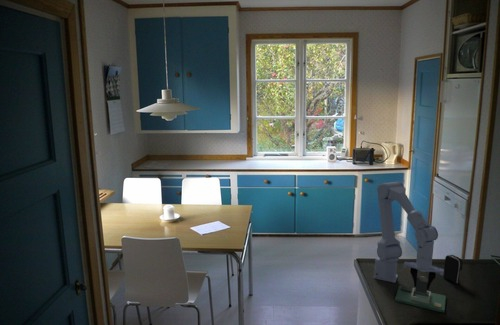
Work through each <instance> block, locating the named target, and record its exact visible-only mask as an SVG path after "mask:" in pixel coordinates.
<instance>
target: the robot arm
mask: <svg viewBox="0 0 500 325" xmlns="http://www.w3.org/2000/svg"><path fill="white" fill-rule="evenodd" d="M406 190H407V188H406V186H404V184H403V182H401V181H400V180H398V181H393V182H391V181H390V182H382V183H380V184H379V185H378V186H377V187H376V191H377V199H378V200H377V201H378V208H379V209H378V210H379V218H380V219H379V220H380V221H379V222H380V228H381V229H380V230H381V238H380V240H379V241H378V242H377V248H376V255H377V256H376V257H375V260H374V269H373V271H374V272H373V279H375V280H381V281H385V282H390V283H394V284H396V282H397V279H398V277H399V275H398V274H397V270H398V261H399V260H400V258H401V257H402V256H403V248H402V247H401V242H400V241H399V240H398V239H397V238H396V234H395V225H394V216H393V205H392V203H393V202H394V201H397V203H398V204H399V205H400V207H402V209H403V210H404V211H405V213H406V214H407V217H406V219H407V221H408V222H409V224H410V225H411V226H412V228H413V230H414V235H415V239H416V245H417V247H416V248H417V249H416V259H415V260H416V262H412V261H411V262H409V261H404V262H403V268H404V269H410V271H409V272H410V275H411V276H412V279H413V280H412V281H413V283H414V284H413V285H414V286H413V288H416V282H417V277H418V271H419V272H422V273H426V272H427V273H428V276H427V278H428V285H427V291H429V290H430V287H431V284H432V282H433V281H434V280H435V278H436V276H437V275H440V276H443V277H444V268H441V267H437V266H435V265H433V255H434V244H435V241H437V240H438V237H439V233H438V232H439V231H438V230H437V228H436V227H435V226H433V225H432V224H430V223H429V222H428V221H427V220H426V219H425V217H424V215H423V213H422V212H420V211H419V210H416V209H415V208H414V205H413V204H412V202H411V201H410V199H409V197H408V195H407V192H406Z"/></svg>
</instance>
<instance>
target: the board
mask: <svg viewBox="0 0 500 325" xmlns="http://www.w3.org/2000/svg"><path fill="white" fill-rule="evenodd" d="M446 297H447V296H446V295H444V294H439V293H434V292H432V291H429V290H427V293H426V294H424V293H420V292H416V287H410V286H409V287H408V286H405V285H399V286H398V289H397V291H396V296H395V298H394V300H395V302H398V303H402V304H405V305H410V306H411V305H412V306H414V307H418V308H424V309H427V310H432V311H435V312H439V313H443V314H444V313H445V310H446V309H445V308H446Z"/></svg>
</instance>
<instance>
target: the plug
mask: <svg viewBox="0 0 500 325" xmlns="http://www.w3.org/2000/svg"><path fill="white" fill-rule="evenodd" d="M427 285H428V277H426V276H422V275H417V282H416V287H415V288H416V292H420V293H424V294H426V293H427V291H428V290H427Z"/></svg>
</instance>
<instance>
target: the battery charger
mask: <svg viewBox="0 0 500 325" xmlns="http://www.w3.org/2000/svg"><path fill="white" fill-rule="evenodd" d="M463 265H464V264H463V259H462V258H460V257H458V256H456V255H454V254H448V255H446V256H445V258H444V266H443V267H444V268H443V269H444V272H443V278H444V279H445V280H446V281H447V280H448V281H449V282H451V283H452V284H459V283H460V273H461V271H463Z"/></svg>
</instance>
